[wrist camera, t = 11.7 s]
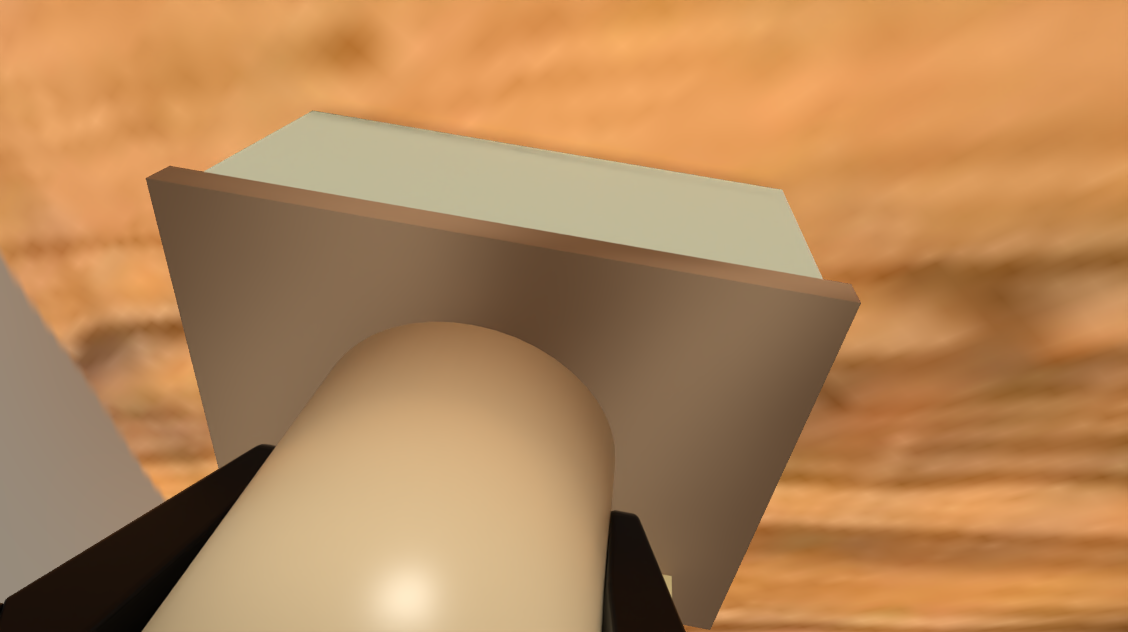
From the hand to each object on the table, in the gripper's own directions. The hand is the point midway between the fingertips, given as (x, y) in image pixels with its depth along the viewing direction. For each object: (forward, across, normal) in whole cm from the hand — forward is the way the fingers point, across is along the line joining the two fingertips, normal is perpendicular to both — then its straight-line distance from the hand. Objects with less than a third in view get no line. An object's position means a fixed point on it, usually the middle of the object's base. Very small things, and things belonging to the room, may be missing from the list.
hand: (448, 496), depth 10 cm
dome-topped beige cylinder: (+1, 0, 0) cm, 1 cm away
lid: (+3, 0, +1) cm, 3 cm away
